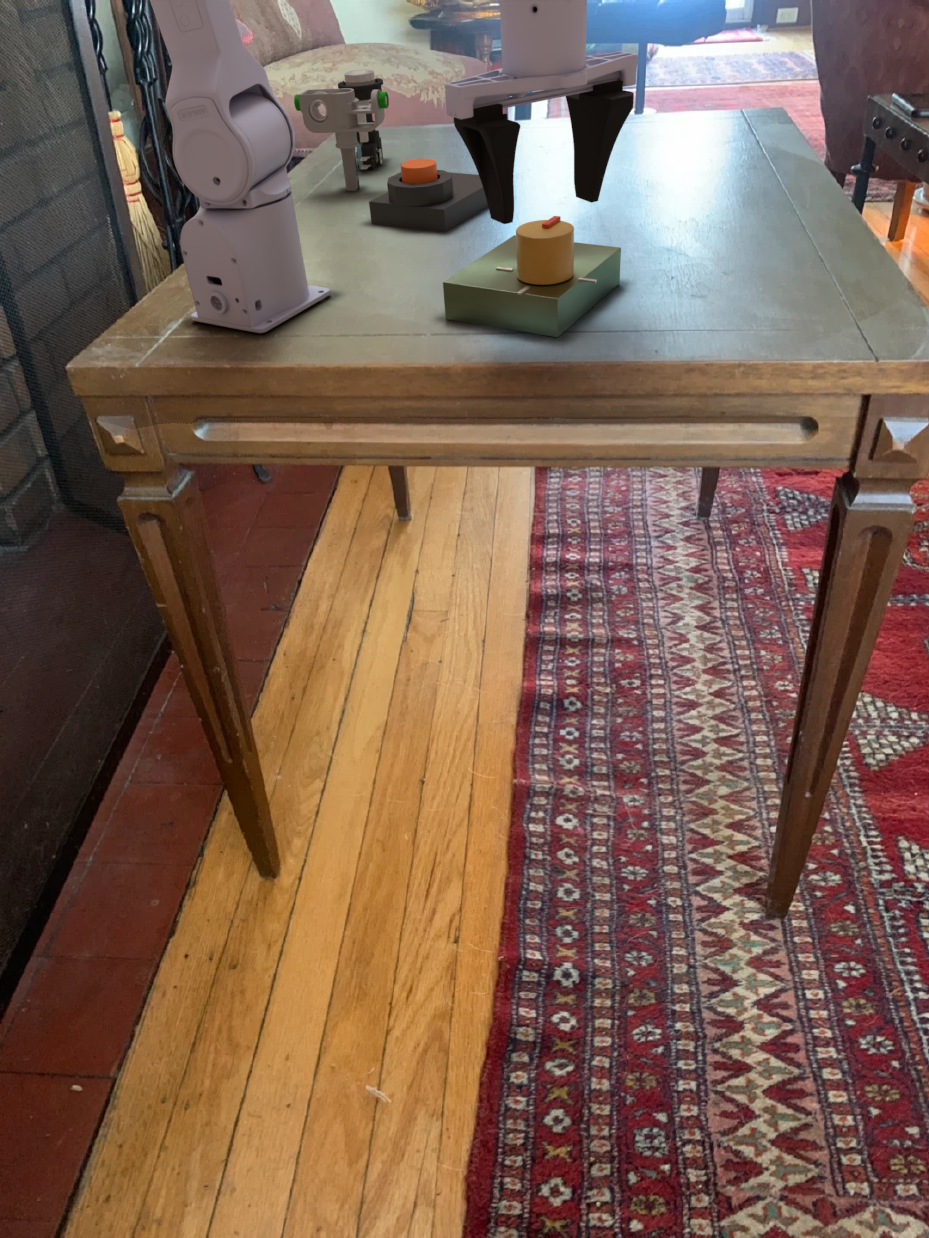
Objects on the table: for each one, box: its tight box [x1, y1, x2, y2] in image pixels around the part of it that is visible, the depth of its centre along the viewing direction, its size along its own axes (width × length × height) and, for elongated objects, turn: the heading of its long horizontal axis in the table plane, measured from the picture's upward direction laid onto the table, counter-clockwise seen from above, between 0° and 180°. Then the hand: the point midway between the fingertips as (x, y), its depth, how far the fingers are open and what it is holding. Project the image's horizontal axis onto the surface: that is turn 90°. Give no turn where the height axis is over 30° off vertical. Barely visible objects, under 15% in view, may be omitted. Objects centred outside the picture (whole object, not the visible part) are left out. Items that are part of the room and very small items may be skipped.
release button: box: [400, 158, 438, 184], centre depth 92 cm, size 4×4×2 cm
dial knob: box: [515, 215, 575, 285], centre depth 71 cm, size 4×4×4 cm
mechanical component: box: [293, 88, 390, 192], centre depth 102 cm, size 3×10×10 cm, turn 79°
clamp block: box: [442, 234, 622, 338], centre depth 75 cm, size 12×11×3 cm
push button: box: [337, 68, 384, 171], centre depth 110 cm, size 7×5×10 cm
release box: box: [368, 169, 489, 233], centre depth 96 cm, size 12×9×4 cm
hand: (545, 209), depth 69 cm, fingers open, 7 cm apart
